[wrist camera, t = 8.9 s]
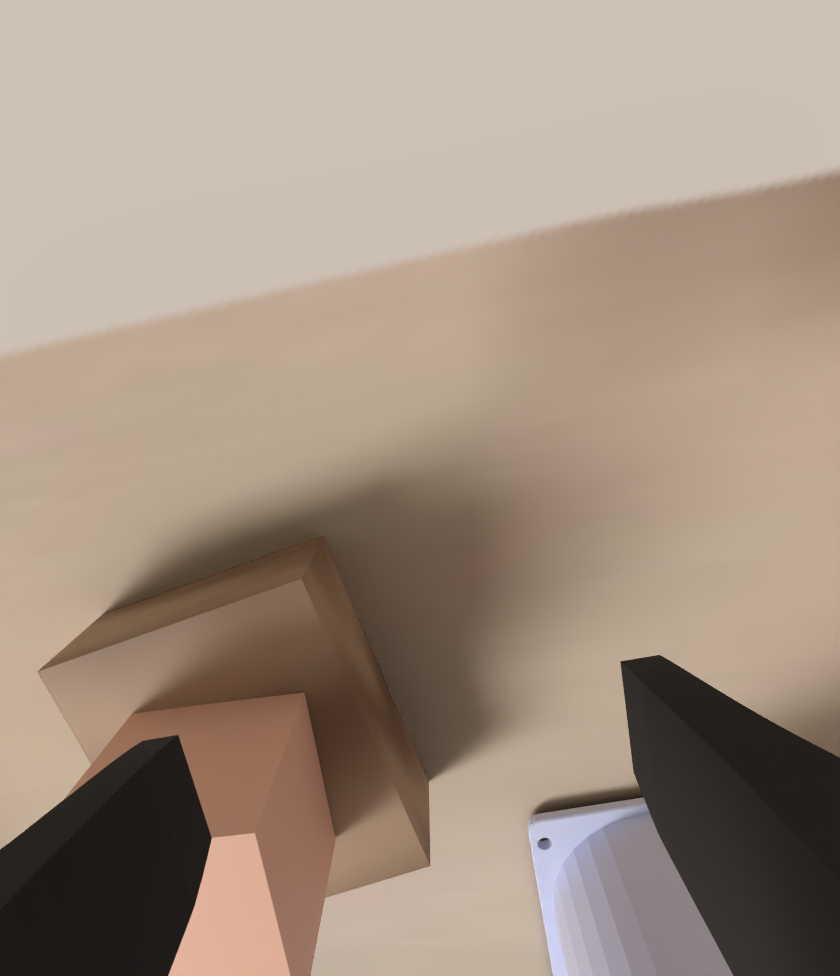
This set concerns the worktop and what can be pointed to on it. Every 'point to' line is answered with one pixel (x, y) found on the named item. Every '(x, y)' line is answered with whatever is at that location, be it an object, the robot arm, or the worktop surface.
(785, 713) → the worktop surface
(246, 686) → the walnut block
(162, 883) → the robot arm
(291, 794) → the terracotta cube
